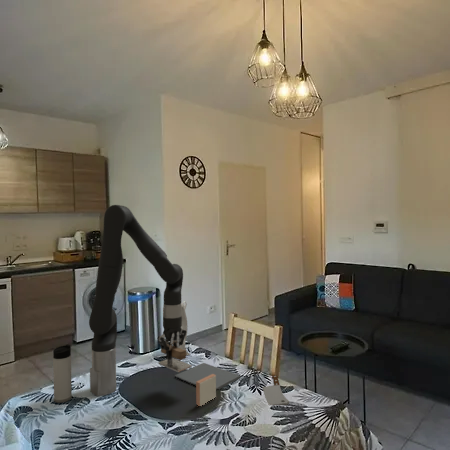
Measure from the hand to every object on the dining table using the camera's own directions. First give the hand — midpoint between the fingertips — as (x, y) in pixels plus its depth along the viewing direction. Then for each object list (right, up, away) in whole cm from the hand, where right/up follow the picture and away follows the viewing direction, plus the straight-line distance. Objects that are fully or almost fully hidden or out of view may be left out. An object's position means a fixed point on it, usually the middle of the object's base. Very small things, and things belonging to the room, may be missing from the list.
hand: (172, 357), depth 145 cm
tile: (+14, -14, -8) cm, 21 cm away
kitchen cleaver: (+40, -14, +1) cm, 43 cm away
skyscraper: (-1, -13, +40) cm, 43 cm away
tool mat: (+13, -13, +13) cm, 23 cm away
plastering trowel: (+1, -3, -1) cm, 3 cm away
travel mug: (-41, -14, -4) cm, 44 cm away
